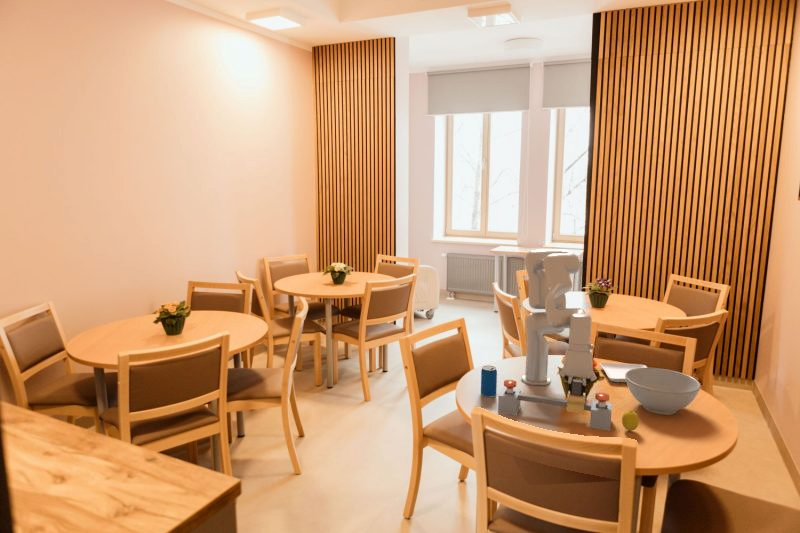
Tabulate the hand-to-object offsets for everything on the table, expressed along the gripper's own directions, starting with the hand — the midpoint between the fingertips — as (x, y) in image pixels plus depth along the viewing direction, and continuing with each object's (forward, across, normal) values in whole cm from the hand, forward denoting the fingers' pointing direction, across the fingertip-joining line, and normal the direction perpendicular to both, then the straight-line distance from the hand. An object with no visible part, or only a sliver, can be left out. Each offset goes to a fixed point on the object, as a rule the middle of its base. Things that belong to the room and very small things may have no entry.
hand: (576, 393), depth 204 cm
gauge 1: (+7, +25, 0) cm, 26 cm away
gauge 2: (+7, -9, 0) cm, 11 cm away
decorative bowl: (+11, -30, -24) cm, 40 cm away
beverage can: (+11, +36, -11) cm, 39 cm away
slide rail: (+11, +8, 0) cm, 13 cm away
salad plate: (+11, -18, -56) cm, 60 cm away
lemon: (+11, -19, +2) cm, 22 cm away
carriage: (+6, 0, 0) cm, 6 cm away
